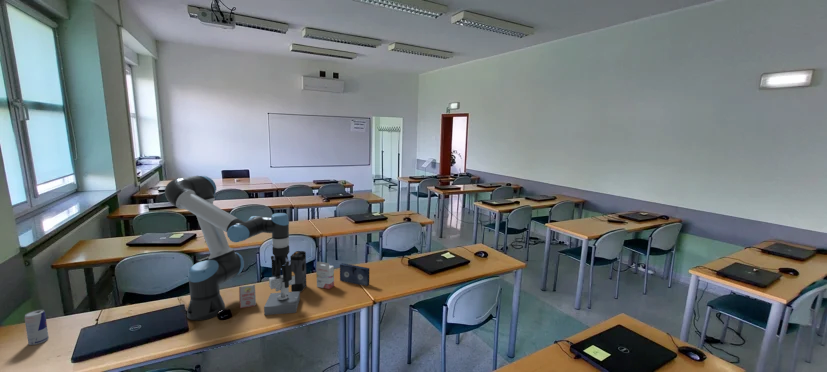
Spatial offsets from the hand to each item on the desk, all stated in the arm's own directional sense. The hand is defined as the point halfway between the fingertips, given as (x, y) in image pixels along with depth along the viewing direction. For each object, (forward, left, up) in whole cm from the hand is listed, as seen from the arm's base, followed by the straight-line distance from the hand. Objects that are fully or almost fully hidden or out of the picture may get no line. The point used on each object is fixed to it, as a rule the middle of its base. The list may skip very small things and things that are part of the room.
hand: (282, 291), depth 161 cm
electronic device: (+5, +19, -8) cm, 21 cm away
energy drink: (-89, -14, -8) cm, 90 cm away
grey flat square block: (0, 0, -8) cm, 8 cm away
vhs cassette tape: (+35, +23, -8) cm, 43 cm away
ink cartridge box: (+19, +20, -8) cm, 29 cm away
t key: (0, 0, -4) cm, 4 cm away
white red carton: (-17, +4, -8) cm, 19 cm away
